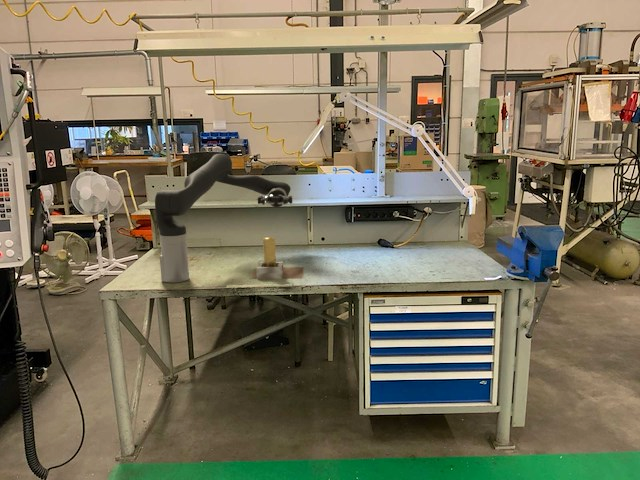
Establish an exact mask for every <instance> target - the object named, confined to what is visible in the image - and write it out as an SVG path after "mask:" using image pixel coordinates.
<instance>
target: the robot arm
mask: <svg viewBox="0 0 640 480" xmlns="http://www.w3.org/2000/svg"><path fill="white" fill-rule="evenodd" d="M232 167H233V161H232V159H231V157H229V156H228V155H227V154H224V153H217V154H214V155H213V156H212V157H211V158H210V159H209V160H208V161H207V162H206V163H205V164H203V165H202V166H200V167H199V168H198V169H197V170H194V171H193V172H191V173H190V174H189V175H187V176H186V178H185V180H184V188H182V189H161V190H159V191H157V192H156V195H155V197H154V198H155V199H154V208H155V215H156V216H155V217H156V223H157V228H158V230H159V242H160V250H161V251H160V252H161V253H160V254H161V255H159V264H160V276H161V277H160V278H161V282H165V283H174V284H175V283H181V282H182V283H183V282H185V281H188V280H189V279H190V269H189V267H190V266H189V256H188V253H189V251H188V242H187V241H188V239H187V237H188V236H187V228H186V226H185V225H184V224H183V223H180V222H178V221H177V220H176V219H174V217H180V216H183V215H185V214H187V213H188V211H189V210H190V209H191V208H192V207H193V205H194V204H195V203H196V202H197V201H198V200H199V199H200V198H201V197H202V196H203V195H205V194H206V193H208V192H209V191H210V190H211V189H212V187H213V186H214V185H215V183H216V182H218V183H222V184H224V185H225V184H226V185H231V186H234V187H239V188H244V189H247V190H249V191H250V190H251V191H253V192H255V193H258V194H261V195H260V196H258V197H257V204H258V205H260V204H261V205H270V206H271V207H273V208H280V207H282V206H284V205H288V204H293V196H292V195H289V194H290V193H291V186H290V184H288V183H287V182H282V181H273V180H269V179H267V178H264V177H262V176H259V175H254V174H249V175H248V174H247V175H231V174H229V172H230V171H231V169H232ZM263 195H264V196H263Z"/></svg>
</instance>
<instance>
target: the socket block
mask: <svg viewBox="0 0 640 480" xmlns="http://www.w3.org/2000/svg"><path fill="white" fill-rule="evenodd" d="M304 268H305V267H304V266H295V267H293V266H292V267H291V266H290V267H289V266H287V267H286V266H285V267H284V261H276V267H264V261H259V262H258V264H257V266H256V267H255V269H254V271H253V272H252V274H251V275H250V277H249V279H250V280H269V279H270V280H272V279H273V280H274V279H276V280H277V279H278V280H279V279H280V280H281V279H283V280H284V279H285V280H286V279H290V280H291V279H292V280H293V279H297V280H298V279H300V280H301V279H303V276H304V270H305V269H304Z"/></svg>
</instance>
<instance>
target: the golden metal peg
mask: <svg viewBox="0 0 640 480" xmlns="http://www.w3.org/2000/svg"><path fill="white" fill-rule="evenodd" d="M262 247H263V249H262V250H263V251H262V252H263V262H264V267H276V262H277V258H276V257H277V255H276V253H277V252H276V251H277V250H276V237H274V236H271V237H270V236H267V237H266V236H265V237H263V238H262Z"/></svg>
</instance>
